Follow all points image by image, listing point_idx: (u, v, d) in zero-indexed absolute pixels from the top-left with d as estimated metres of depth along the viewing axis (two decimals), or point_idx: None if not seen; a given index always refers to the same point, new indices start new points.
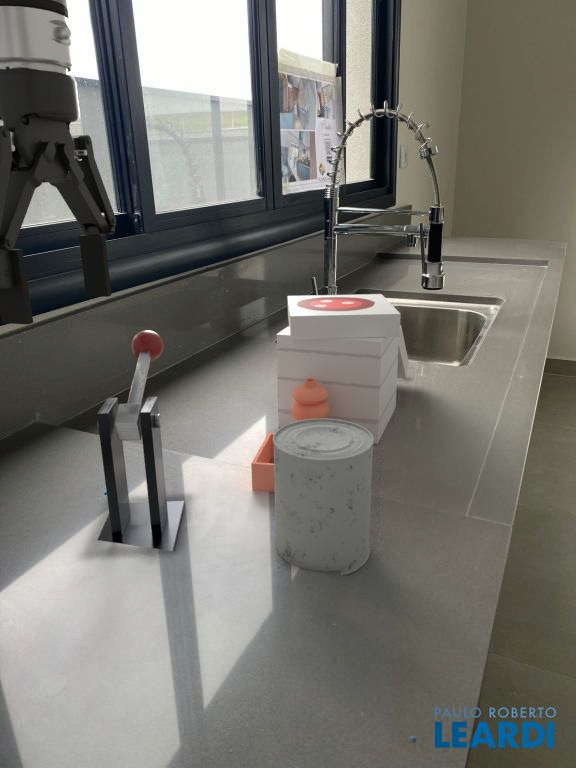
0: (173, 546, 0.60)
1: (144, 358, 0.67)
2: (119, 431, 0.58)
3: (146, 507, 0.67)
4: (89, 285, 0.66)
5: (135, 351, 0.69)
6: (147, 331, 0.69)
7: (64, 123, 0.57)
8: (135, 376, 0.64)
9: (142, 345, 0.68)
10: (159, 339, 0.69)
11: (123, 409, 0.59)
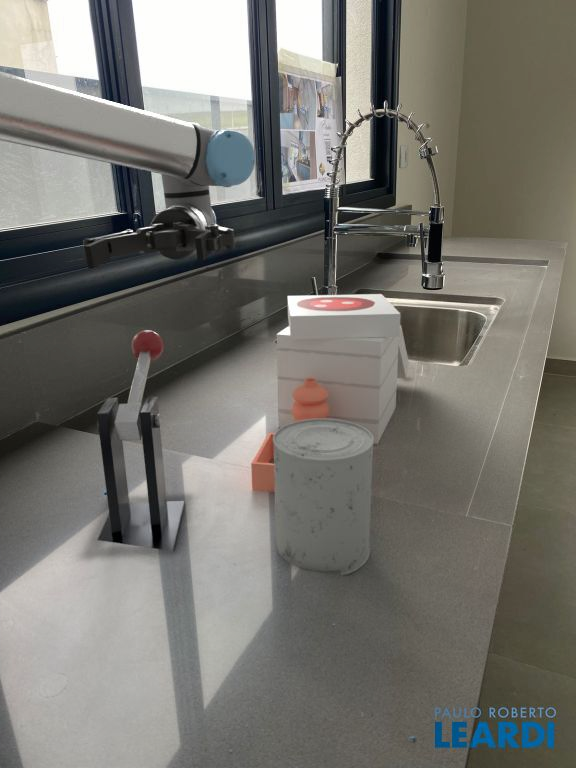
0: (173, 546, 0.60)
1: (144, 358, 0.67)
2: (119, 431, 0.58)
3: (146, 507, 0.67)
4: (94, 249, 0.74)
5: (135, 351, 0.69)
6: (147, 331, 0.69)
7: None
8: (135, 376, 0.64)
9: (142, 345, 0.68)
10: (159, 339, 0.69)
11: (123, 409, 0.59)
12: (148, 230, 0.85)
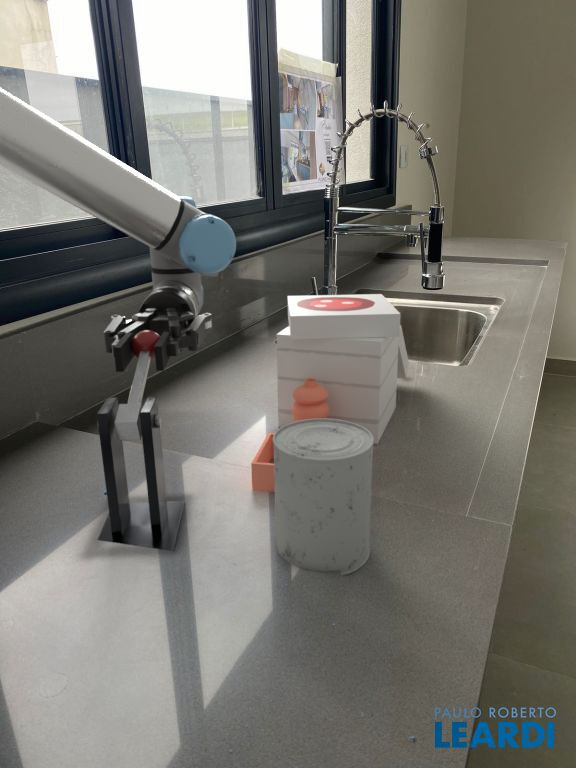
0: (173, 546, 0.60)
1: (144, 358, 0.67)
2: (119, 431, 0.58)
3: (146, 507, 0.67)
4: (123, 349, 0.65)
5: (135, 351, 0.69)
6: (147, 331, 0.69)
7: None
8: (135, 376, 0.64)
9: (142, 345, 0.68)
10: None
11: (123, 409, 0.59)
12: (150, 317, 0.78)
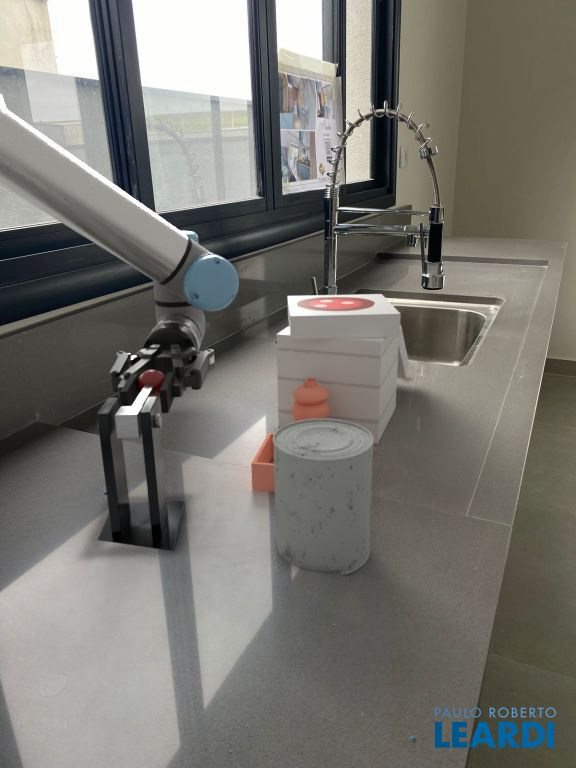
0: (173, 546, 0.60)
1: (149, 388, 0.69)
2: (119, 426, 0.58)
3: (146, 507, 0.67)
4: (129, 393, 0.68)
5: (140, 386, 0.71)
6: None
7: None
8: (138, 396, 0.66)
9: (147, 379, 0.70)
10: (164, 376, 0.72)
11: (124, 408, 0.60)
12: (154, 354, 0.80)
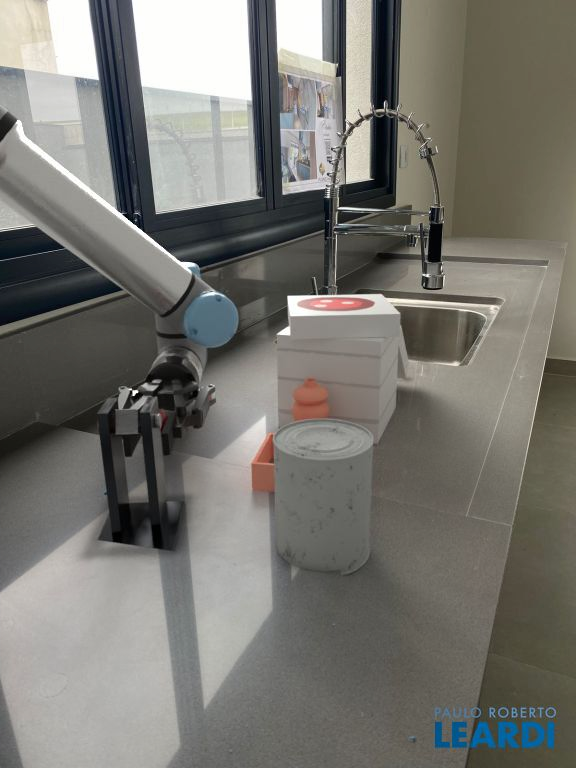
0: (173, 546, 0.60)
1: None
2: (118, 421, 0.58)
3: (146, 507, 0.67)
4: (131, 435, 0.68)
5: None
6: None
7: None
8: None
9: None
10: (166, 415, 0.73)
11: None
12: (156, 390, 0.81)
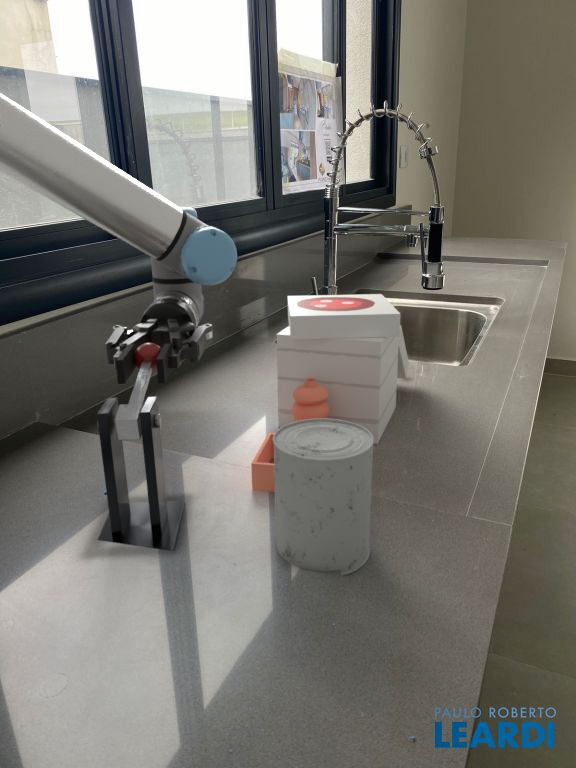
0: (173, 546, 0.60)
1: (146, 367, 0.68)
2: (119, 430, 0.58)
3: (146, 507, 0.67)
4: (125, 362, 0.66)
5: (137, 362, 0.69)
6: (149, 343, 0.70)
7: None
8: (136, 382, 0.65)
9: (144, 356, 0.69)
10: None
11: (123, 409, 0.59)
12: (151, 328, 0.78)
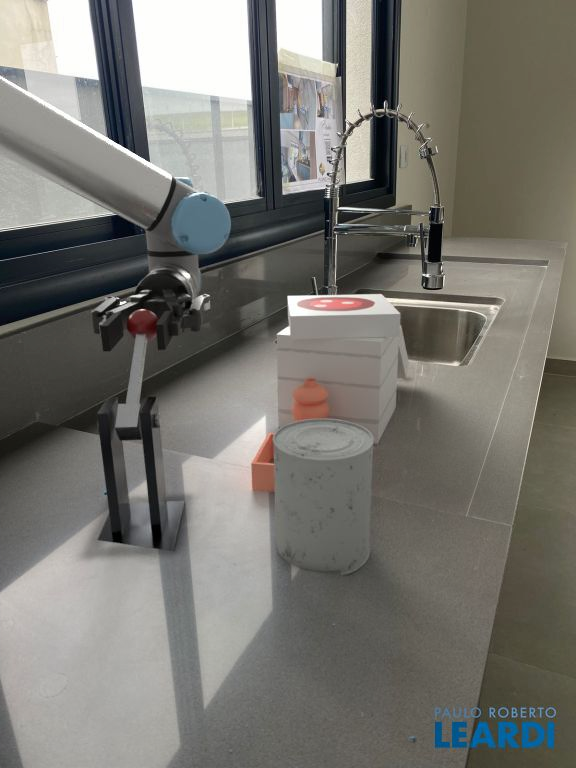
0: (173, 546, 0.60)
1: (141, 343, 0.65)
2: (120, 433, 0.59)
3: (146, 507, 0.67)
4: (110, 328, 0.63)
5: (131, 333, 0.67)
6: (142, 312, 0.66)
7: None
8: (132, 366, 0.63)
9: (138, 328, 0.66)
10: (155, 319, 0.67)
11: (122, 410, 0.59)
12: (144, 298, 0.75)
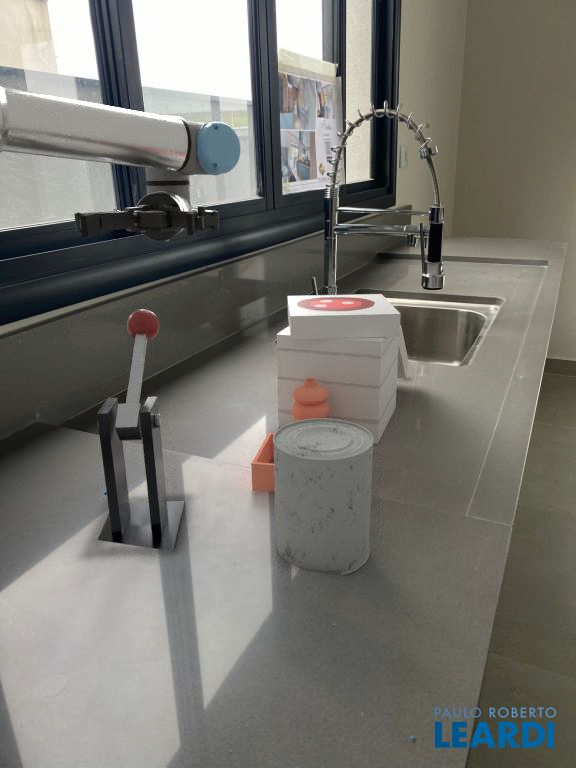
0: (173, 546, 0.60)
1: (141, 343, 0.65)
2: (120, 433, 0.59)
3: (146, 507, 0.67)
4: (88, 219, 0.79)
5: (131, 333, 0.67)
6: (142, 312, 0.66)
7: None
8: (132, 366, 0.63)
9: (138, 328, 0.66)
10: (155, 319, 0.67)
11: (122, 410, 0.59)
12: (136, 209, 0.90)
